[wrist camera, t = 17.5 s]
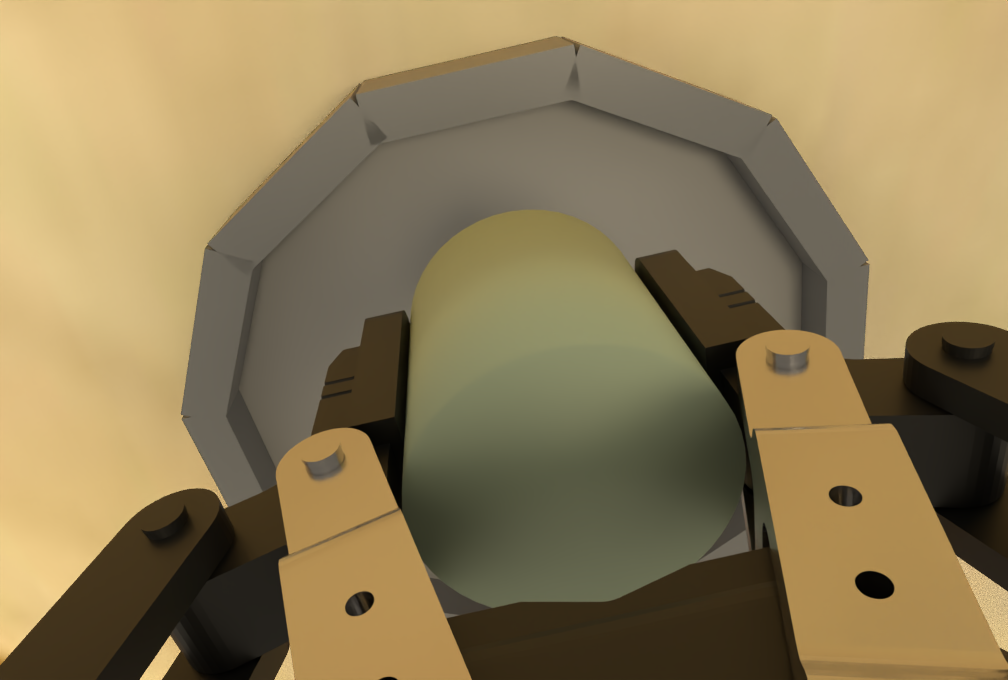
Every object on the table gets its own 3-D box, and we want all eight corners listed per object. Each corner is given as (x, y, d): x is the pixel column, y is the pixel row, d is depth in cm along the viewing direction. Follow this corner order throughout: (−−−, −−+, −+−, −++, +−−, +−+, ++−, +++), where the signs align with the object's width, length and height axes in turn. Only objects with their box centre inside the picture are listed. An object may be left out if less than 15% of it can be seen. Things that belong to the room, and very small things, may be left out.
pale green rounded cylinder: (680, 330, 13) (802, 502, 9) (506, 451, 14) (541, 659, 10) (550, 158, 12) (625, 268, 7) (361, 310, 13) (325, 490, 8)
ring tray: (816, 526, 27) (849, 573, 25) (333, 632, 28) (324, 689, 25) (831, -27, 18) (887, -28, 16) (93, 142, 18) (47, 165, 16)
